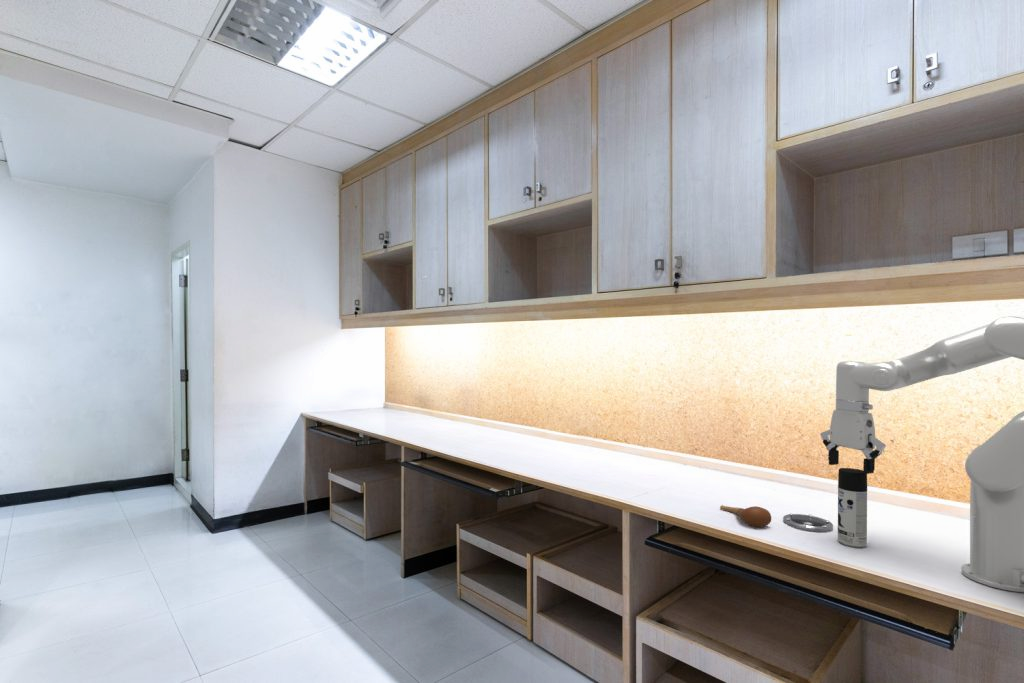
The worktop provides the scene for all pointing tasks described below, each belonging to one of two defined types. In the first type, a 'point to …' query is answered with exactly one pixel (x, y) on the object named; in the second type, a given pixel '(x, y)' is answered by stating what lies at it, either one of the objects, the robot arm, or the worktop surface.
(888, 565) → the worktop surface
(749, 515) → the pipe
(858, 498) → the spray can
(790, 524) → the flange
